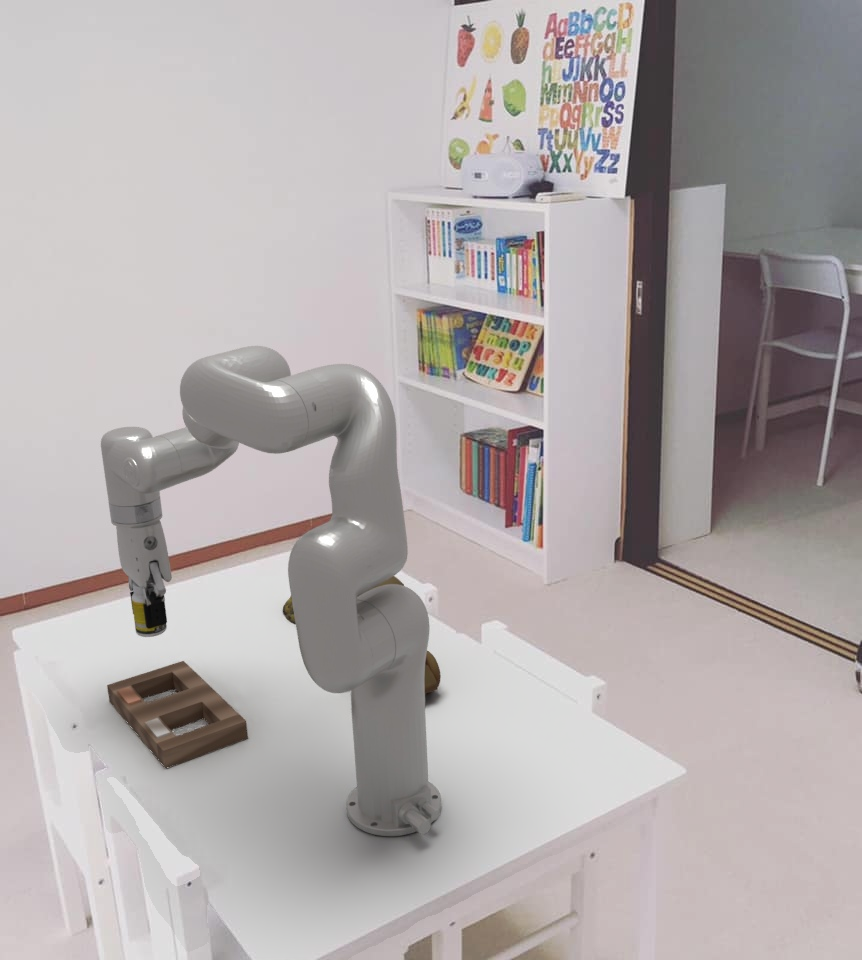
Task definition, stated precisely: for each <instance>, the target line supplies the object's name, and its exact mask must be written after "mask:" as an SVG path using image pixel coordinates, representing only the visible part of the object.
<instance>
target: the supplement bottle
mask: <svg viewBox="0 0 862 960" xmlns="http://www.w3.org/2000/svg"><path fill="white" fill-rule="evenodd" d="M146 583H147V584H149V583H152V580H148V581H146ZM132 585H133V591H132V592H134V594H133V595H132V603H131V606H132V605H133V610H132V614H133V613H134V614H133V618H134V627H135V633H136V635H137V636H138V637H143V638H152V637H157V636H160V635H162V634H163V633H164V632H166V631H167V629H168V626H167V623H166V624H164V625H161V626H157V627H154V628H150V629H148V628H147V627H146V623H145V616H144V608H143V604H145V600H144V595H143V590H142V587H140V586H139V585H137V584H136V583H135V582H133V583H132ZM148 591H149V595H150V593H151V592H152V591H154V587H153V588H149V589H148Z"/></svg>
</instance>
